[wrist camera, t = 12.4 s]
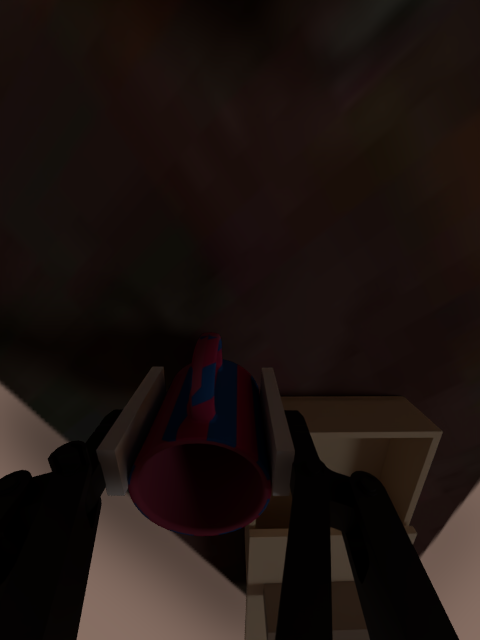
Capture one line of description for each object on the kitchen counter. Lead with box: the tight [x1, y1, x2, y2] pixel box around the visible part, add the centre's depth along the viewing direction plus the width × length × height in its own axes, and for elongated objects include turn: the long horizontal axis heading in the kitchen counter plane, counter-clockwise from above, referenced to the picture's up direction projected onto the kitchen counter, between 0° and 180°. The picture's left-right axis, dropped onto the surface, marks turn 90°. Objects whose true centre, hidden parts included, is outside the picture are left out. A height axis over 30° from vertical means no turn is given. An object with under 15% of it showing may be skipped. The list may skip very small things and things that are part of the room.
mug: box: [128, 332, 272, 536], centre depth 13 cm, size 7×10×7 cm
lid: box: [245, 526, 417, 640], centre depth 22 cm, size 20×15×4 cm
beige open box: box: [245, 396, 443, 581], centre depth 23 cm, size 20×15×4 cm
